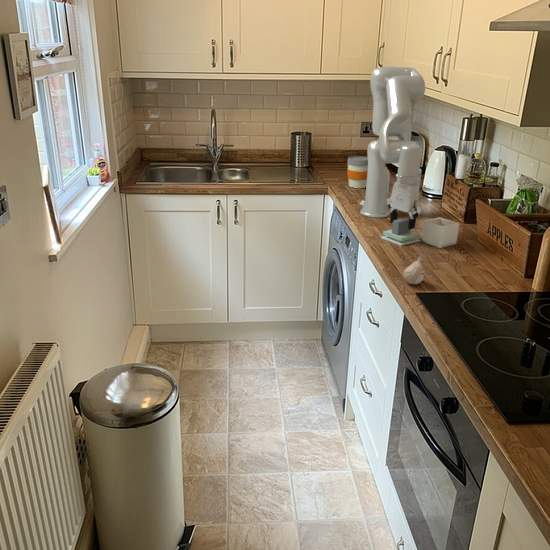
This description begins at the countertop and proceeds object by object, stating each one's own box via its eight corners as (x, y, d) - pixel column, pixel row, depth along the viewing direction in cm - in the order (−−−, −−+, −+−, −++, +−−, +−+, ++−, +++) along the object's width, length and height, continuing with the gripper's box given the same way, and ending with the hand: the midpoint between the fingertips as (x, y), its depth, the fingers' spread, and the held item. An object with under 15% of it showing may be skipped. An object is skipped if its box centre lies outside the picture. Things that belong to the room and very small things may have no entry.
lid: (382, 236, 212) (384, 218, 209) (399, 232, 217) (401, 215, 214) (401, 243, 205) (403, 225, 202) (418, 239, 210) (420, 221, 207)
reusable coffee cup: (343, 188, 285) (345, 159, 279) (348, 183, 296) (350, 155, 290) (367, 191, 281) (370, 161, 276) (371, 186, 292) (374, 157, 287)
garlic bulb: (427, 285, 170) (431, 261, 167) (409, 288, 168) (412, 263, 165) (415, 277, 176) (418, 254, 173) (397, 280, 174) (400, 256, 171)
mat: (380, 238, 212) (380, 236, 212) (399, 233, 218) (399, 232, 217) (401, 245, 204) (401, 244, 204) (420, 241, 210) (420, 239, 210)
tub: (421, 241, 210) (424, 220, 207) (437, 237, 214) (439, 217, 211) (440, 248, 203) (443, 227, 200) (456, 244, 208) (459, 223, 205)
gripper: (382, 176, 207) (378, 221, 213) (418, 185, 194) (412, 233, 200) (397, 174, 211) (392, 218, 217) (433, 183, 198) (426, 230, 204)
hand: (402, 225), depth 209 cm, fingers open, 8 cm apart
